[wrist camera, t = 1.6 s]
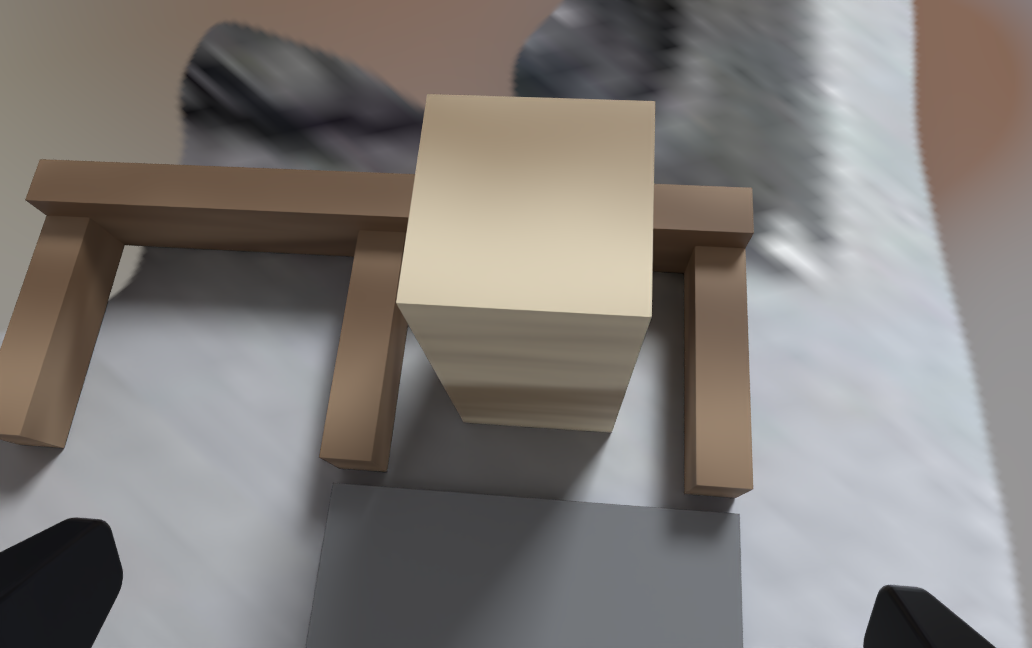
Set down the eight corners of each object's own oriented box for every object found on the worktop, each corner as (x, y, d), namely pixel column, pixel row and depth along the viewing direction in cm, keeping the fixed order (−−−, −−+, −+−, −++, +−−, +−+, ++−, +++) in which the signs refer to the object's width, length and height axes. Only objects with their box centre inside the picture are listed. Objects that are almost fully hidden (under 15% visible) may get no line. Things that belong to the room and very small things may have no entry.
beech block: (611, 432, 22) (651, 316, 13) (463, 422, 22) (396, 303, 13) (616, 294, 24) (655, 101, 14) (478, 287, 24) (426, 94, 15)
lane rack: (736, 498, 21) (763, 484, 18) (19, 444, 23) (-56, 424, 20) (729, 226, 24) (751, 179, 21) (98, 198, 26) (42, 151, 23)
